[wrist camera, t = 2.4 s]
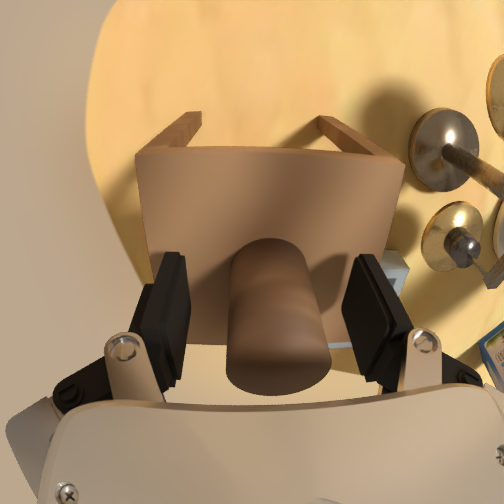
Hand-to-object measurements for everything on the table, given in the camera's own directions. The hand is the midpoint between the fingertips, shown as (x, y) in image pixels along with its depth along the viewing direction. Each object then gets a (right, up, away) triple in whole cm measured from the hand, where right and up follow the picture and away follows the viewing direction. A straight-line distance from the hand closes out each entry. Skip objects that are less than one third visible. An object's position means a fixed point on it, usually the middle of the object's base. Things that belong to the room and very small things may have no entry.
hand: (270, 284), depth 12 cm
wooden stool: (0, +7, +10) cm, 12 cm away
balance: (+15, +10, +8) cm, 19 cm away
